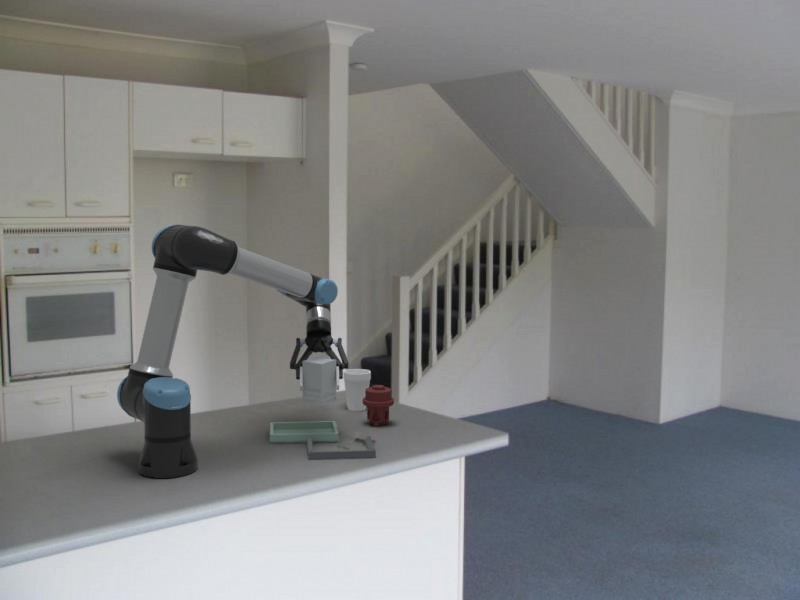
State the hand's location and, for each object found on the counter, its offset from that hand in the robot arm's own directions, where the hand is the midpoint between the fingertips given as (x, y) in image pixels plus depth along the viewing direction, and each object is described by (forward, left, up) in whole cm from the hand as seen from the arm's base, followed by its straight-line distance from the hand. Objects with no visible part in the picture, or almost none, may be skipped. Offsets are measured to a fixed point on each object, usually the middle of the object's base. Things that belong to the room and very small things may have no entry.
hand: (319, 387), depth 239 cm
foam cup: (+15, +41, -17) cm, 47 cm away
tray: (-4, +9, -17) cm, 19 cm away
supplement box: (0, +3, -5) cm, 6 cm away
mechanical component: (+20, +21, -17) cm, 33 cm away
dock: (+6, -7, -17) cm, 19 cm away
